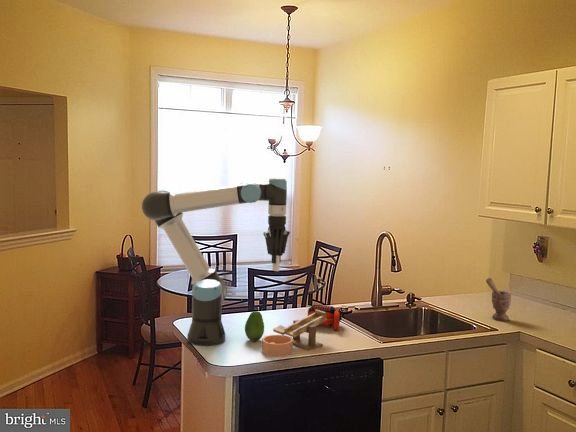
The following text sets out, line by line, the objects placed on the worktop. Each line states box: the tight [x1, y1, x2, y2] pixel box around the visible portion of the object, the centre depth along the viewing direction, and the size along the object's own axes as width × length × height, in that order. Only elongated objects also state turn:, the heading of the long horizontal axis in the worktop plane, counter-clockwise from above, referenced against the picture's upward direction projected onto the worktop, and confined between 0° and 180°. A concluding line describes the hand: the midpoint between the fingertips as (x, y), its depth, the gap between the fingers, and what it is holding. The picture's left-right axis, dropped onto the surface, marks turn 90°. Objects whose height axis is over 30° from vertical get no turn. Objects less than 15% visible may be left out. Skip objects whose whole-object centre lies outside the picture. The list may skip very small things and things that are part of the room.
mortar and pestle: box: [485, 277, 512, 322], centre depth 256 cm, size 12×9×20 cm
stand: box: [291, 319, 324, 351], centre depth 212 cm, size 8×13×8 cm, turn 41°
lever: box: [272, 309, 327, 338], centre depth 214 cm, size 19×12×4 cm, turn 132°
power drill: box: [307, 304, 343, 332], centre depth 237 cm, size 15×9×15 cm
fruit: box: [244, 310, 265, 342], centre depth 215 cm, size 8×8×12 cm
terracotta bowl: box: [261, 334, 294, 357], centre depth 203 cm, size 12×12×4 cm
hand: (275, 270), depth 225 cm, fingers closed
